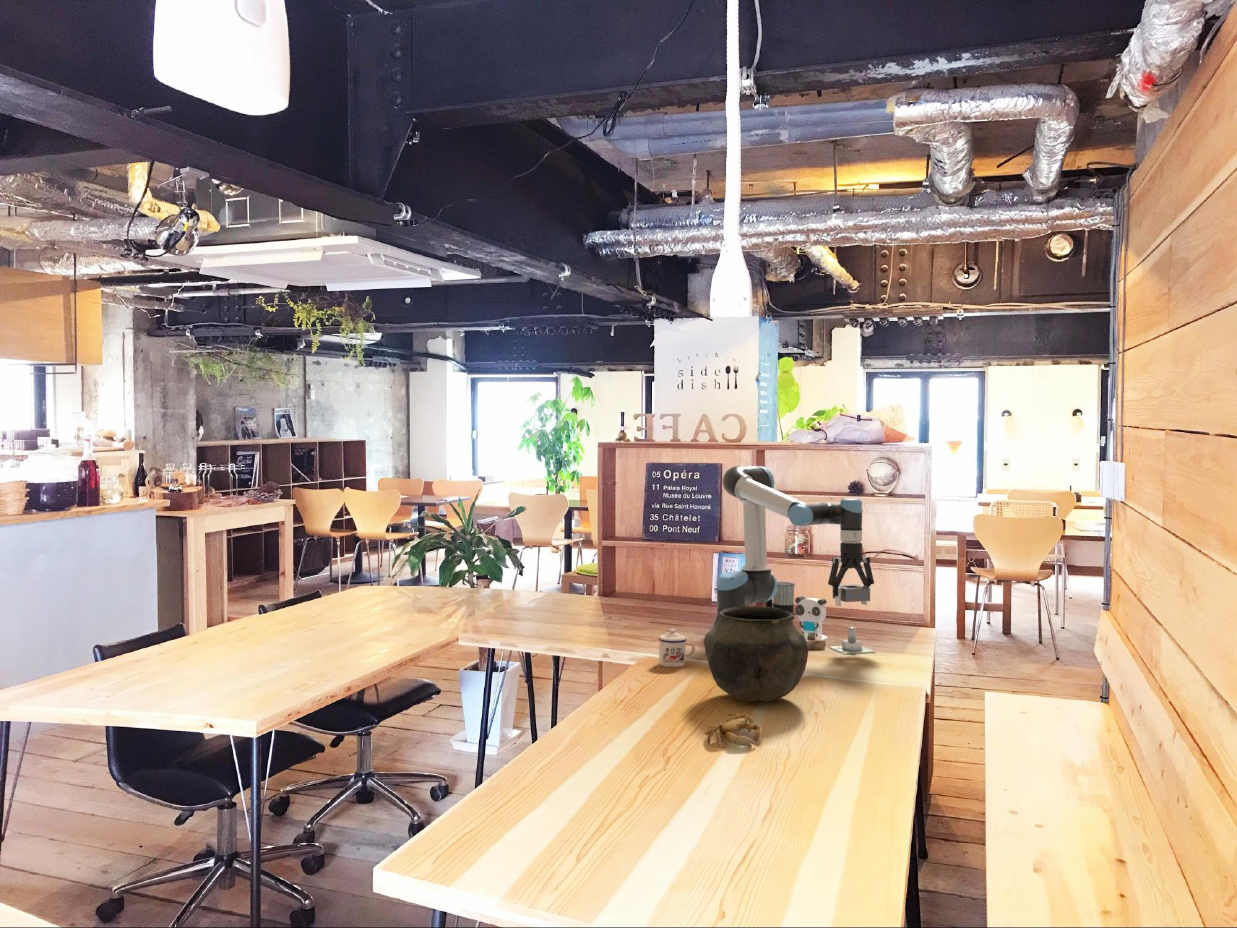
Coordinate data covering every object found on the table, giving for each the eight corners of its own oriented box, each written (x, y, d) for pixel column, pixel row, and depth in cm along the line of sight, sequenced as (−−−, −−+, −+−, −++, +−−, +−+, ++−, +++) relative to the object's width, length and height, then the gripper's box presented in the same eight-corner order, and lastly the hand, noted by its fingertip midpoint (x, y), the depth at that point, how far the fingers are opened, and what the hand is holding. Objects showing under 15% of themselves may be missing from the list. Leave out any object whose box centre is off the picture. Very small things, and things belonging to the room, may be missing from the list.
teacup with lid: (660, 668, 291) (661, 632, 291) (656, 661, 300) (656, 626, 300) (697, 667, 292) (697, 631, 292) (691, 660, 301) (692, 626, 301)
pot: (742, 721, 235) (743, 626, 234) (686, 691, 264) (687, 606, 263) (833, 709, 246) (835, 618, 246) (770, 681, 275) (771, 600, 275)
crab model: (742, 755, 209) (742, 732, 209) (696, 743, 217) (696, 721, 217) (774, 739, 221) (775, 717, 221) (730, 728, 229) (730, 706, 229)
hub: (844, 654, 313) (844, 631, 313) (829, 647, 324) (829, 625, 324) (875, 652, 316) (875, 629, 316) (858, 645, 327) (859, 624, 327)
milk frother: (797, 617, 382) (798, 582, 381) (783, 623, 368) (783, 587, 368) (766, 614, 389) (767, 579, 389) (751, 619, 376) (751, 584, 376)
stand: (807, 649, 320) (807, 634, 320) (798, 645, 327) (798, 630, 327) (824, 648, 322) (825, 633, 322) (815, 644, 329) (815, 629, 328)
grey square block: (845, 602, 314) (845, 589, 314) (832, 597, 323) (832, 585, 323) (870, 600, 316) (870, 588, 316) (856, 596, 325) (856, 584, 325)
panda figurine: (789, 636, 342) (789, 597, 341) (805, 632, 350) (805, 594, 350) (817, 641, 334) (817, 601, 333) (832, 637, 342) (833, 598, 342)
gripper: (827, 543, 313) (827, 607, 313) (884, 542, 319) (884, 605, 319) (817, 541, 320) (817, 604, 320) (873, 540, 326) (873, 602, 326)
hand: (851, 604), depth 320 cm, fingers closed on grey square block, 9 cm apart
